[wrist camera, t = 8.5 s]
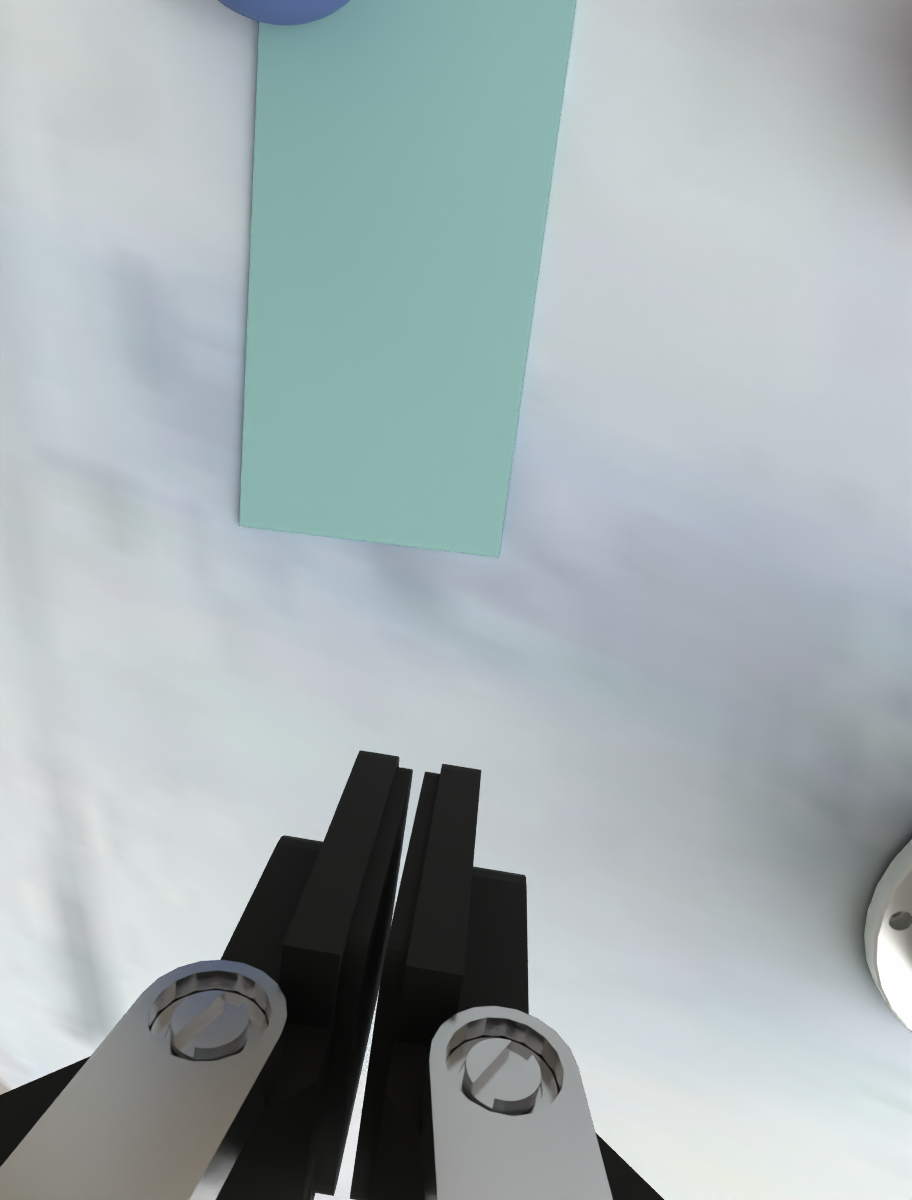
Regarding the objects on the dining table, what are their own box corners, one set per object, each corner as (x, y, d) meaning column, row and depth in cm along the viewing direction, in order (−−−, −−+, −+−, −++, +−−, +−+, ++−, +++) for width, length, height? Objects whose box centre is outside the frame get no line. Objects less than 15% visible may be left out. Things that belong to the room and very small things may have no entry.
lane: (667, -656, 20) (669, -666, 20) (498, 556, 29) (498, 557, 29) (290, -708, 20) (288, -718, 20) (240, 524, 29) (239, 526, 29)
